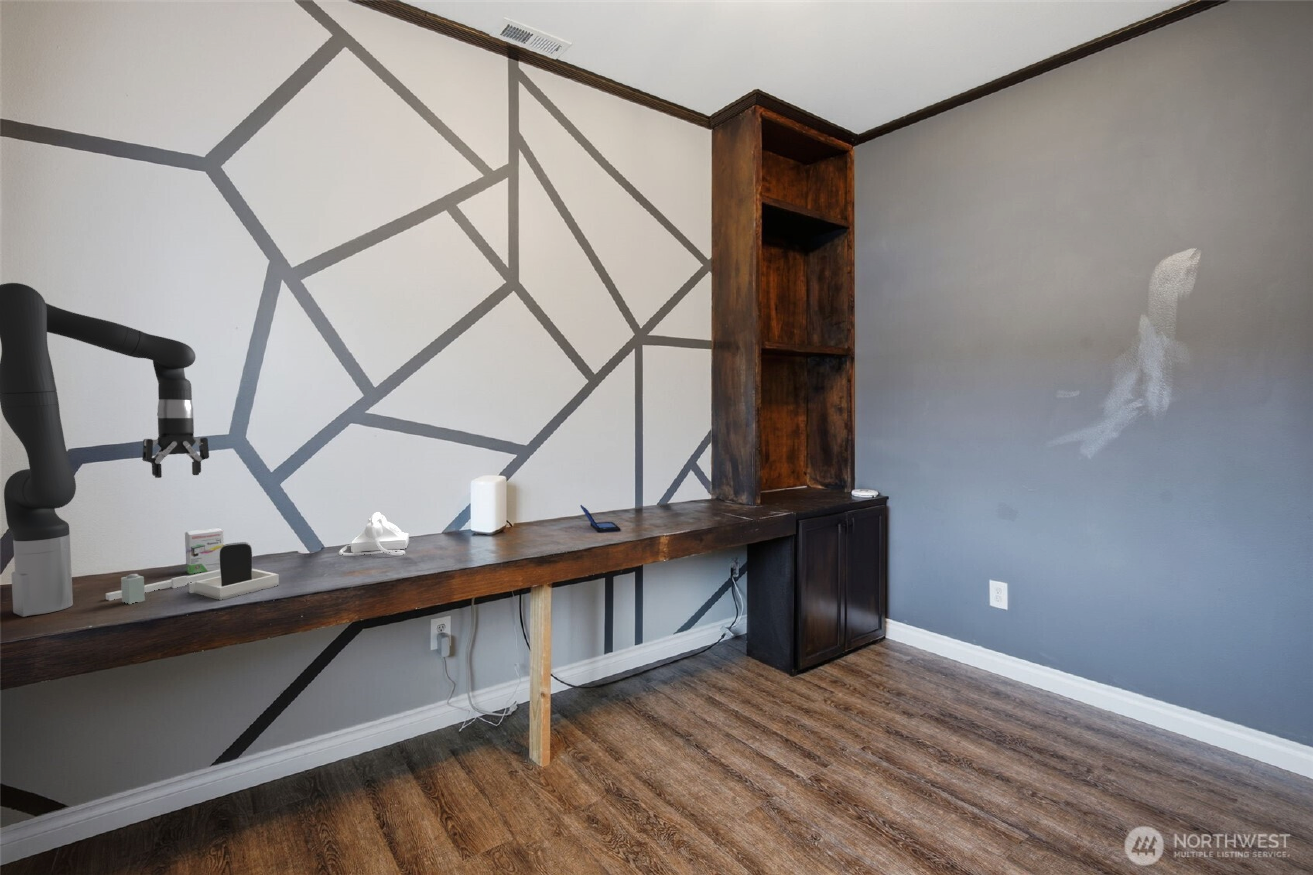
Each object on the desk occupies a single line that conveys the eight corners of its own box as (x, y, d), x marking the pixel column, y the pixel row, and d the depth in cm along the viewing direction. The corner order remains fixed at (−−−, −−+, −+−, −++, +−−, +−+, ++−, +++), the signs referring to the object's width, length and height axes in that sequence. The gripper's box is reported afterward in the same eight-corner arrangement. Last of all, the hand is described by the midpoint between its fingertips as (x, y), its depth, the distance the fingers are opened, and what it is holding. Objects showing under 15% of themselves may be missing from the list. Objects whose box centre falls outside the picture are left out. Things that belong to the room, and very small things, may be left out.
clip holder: (130, 607, 141) (129, 580, 141) (105, 599, 148) (104, 573, 147) (255, 578, 166) (254, 554, 166) (230, 572, 172) (229, 549, 172)
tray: (220, 600, 147) (220, 588, 147) (195, 593, 152) (195, 581, 152) (278, 585, 159) (278, 574, 159) (253, 579, 165) (253, 568, 165)
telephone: (404, 557, 191) (403, 518, 190) (331, 562, 184) (330, 522, 184) (410, 541, 215) (410, 506, 214) (346, 545, 208) (345, 509, 208)
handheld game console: (621, 532, 230) (621, 508, 229) (587, 534, 226) (586, 510, 225) (612, 524, 245) (612, 502, 244) (580, 526, 241) (579, 504, 240)
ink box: (189, 574, 170) (187, 533, 169) (185, 571, 173) (184, 531, 173) (225, 568, 176) (224, 529, 176) (221, 565, 180) (220, 527, 179)
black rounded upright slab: (252, 582, 159) (251, 540, 159) (253, 585, 156) (251, 542, 156) (220, 586, 155) (218, 543, 155) (220, 590, 152) (218, 546, 152)
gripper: (149, 416, 153) (151, 479, 153) (212, 416, 165) (214, 474, 166) (136, 416, 156) (138, 478, 157) (199, 416, 169) (200, 473, 169)
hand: (177, 476), depth 161 cm, fingers open, 8 cm apart
